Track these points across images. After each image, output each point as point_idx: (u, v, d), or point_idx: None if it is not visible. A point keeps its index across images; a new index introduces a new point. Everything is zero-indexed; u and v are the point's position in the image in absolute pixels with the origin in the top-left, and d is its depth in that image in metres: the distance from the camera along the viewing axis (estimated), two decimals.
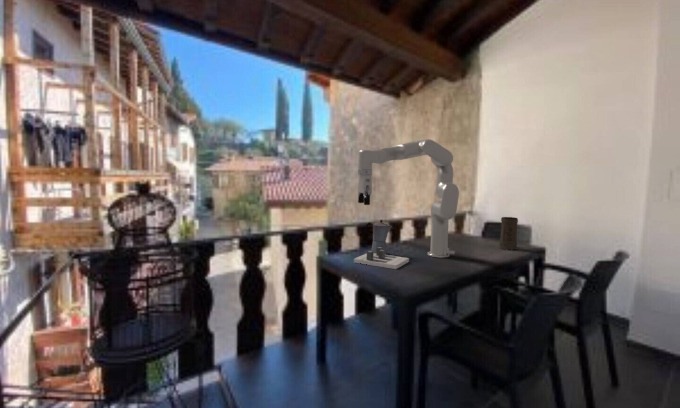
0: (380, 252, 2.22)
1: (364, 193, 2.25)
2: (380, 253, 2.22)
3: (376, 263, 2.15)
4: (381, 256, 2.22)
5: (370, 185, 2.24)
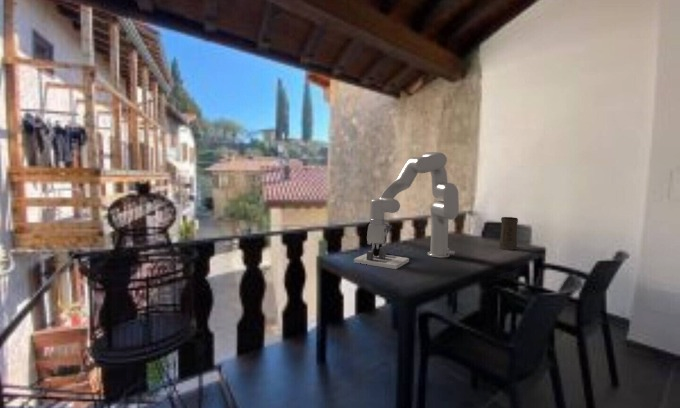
0: (381, 252, 2.22)
1: (377, 244, 2.23)
2: (381, 253, 2.22)
3: (376, 263, 2.15)
4: (382, 256, 2.22)
5: (386, 234, 2.23)
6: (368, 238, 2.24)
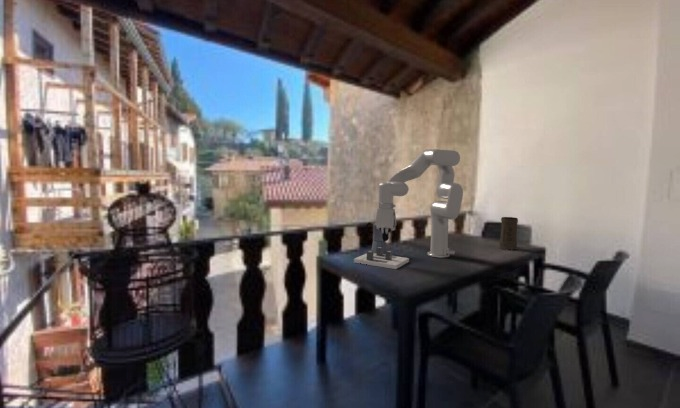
0: (387, 253, 2.20)
1: (387, 228, 2.19)
2: (387, 254, 2.20)
3: (376, 263, 2.15)
4: (388, 257, 2.20)
5: (395, 218, 2.19)
6: (377, 223, 2.21)
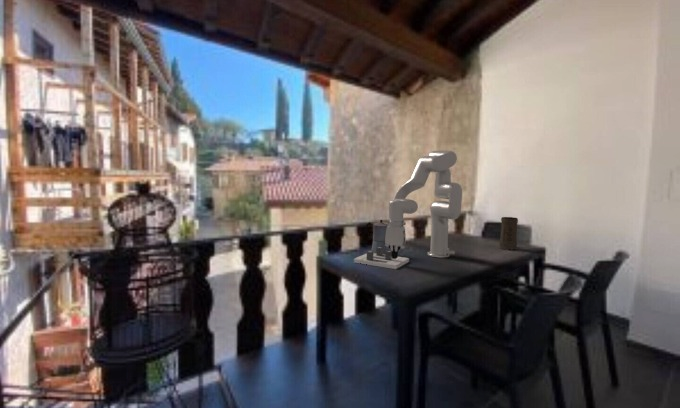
0: (387, 253, 2.20)
1: (396, 246, 2.17)
2: (387, 254, 2.20)
3: (376, 263, 2.15)
4: (388, 257, 2.20)
5: (405, 236, 2.17)
6: (386, 240, 2.19)
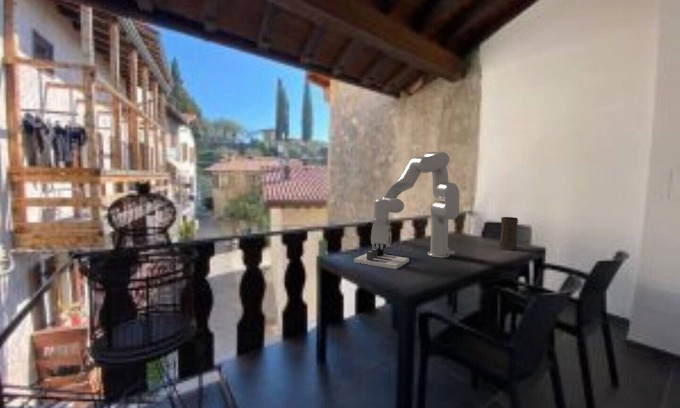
0: (373, 251, 2.24)
1: (381, 244, 2.21)
2: (373, 252, 2.24)
3: (376, 263, 2.15)
4: (374, 255, 2.24)
5: (390, 235, 2.21)
6: (372, 238, 2.23)
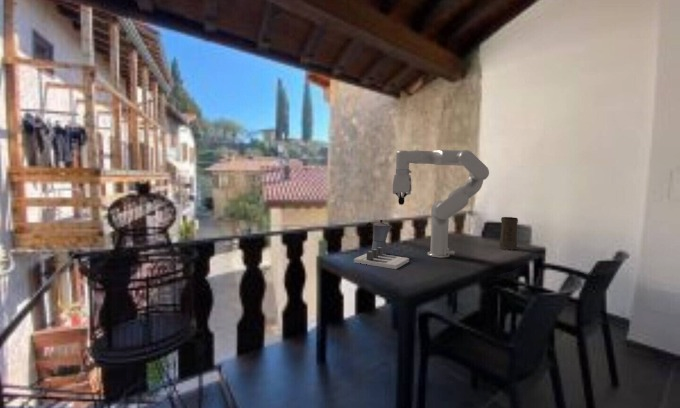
0: (373, 251, 2.24)
1: (403, 193, 2.37)
2: (373, 252, 2.24)
3: (376, 263, 2.15)
4: (374, 255, 2.24)
5: None
6: (394, 187, 2.39)
